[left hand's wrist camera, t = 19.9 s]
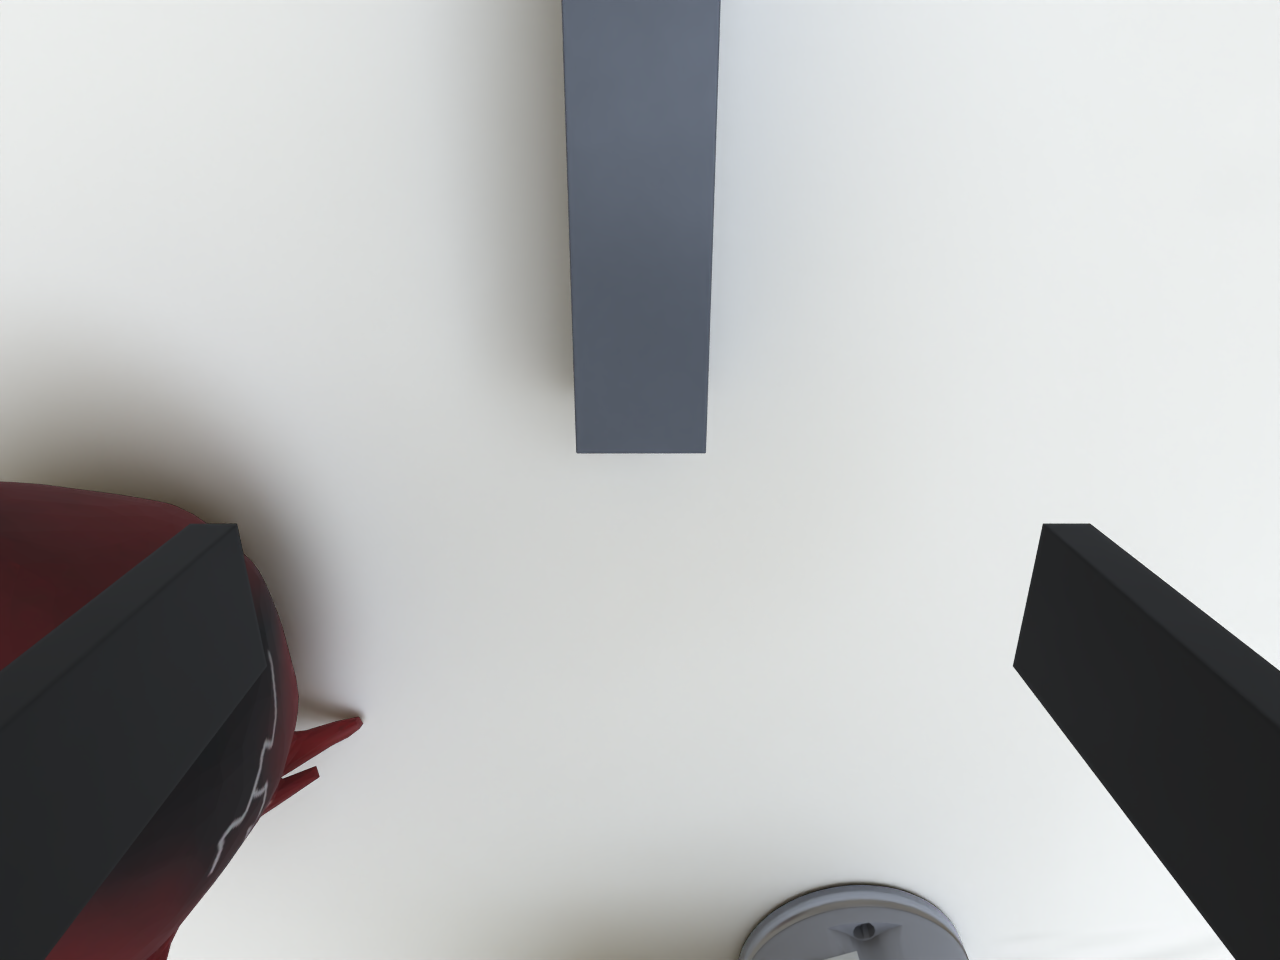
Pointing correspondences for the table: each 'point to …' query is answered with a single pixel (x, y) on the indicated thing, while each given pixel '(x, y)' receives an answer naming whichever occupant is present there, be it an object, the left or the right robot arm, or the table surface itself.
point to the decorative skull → (225, 770)
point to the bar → (641, 218)
